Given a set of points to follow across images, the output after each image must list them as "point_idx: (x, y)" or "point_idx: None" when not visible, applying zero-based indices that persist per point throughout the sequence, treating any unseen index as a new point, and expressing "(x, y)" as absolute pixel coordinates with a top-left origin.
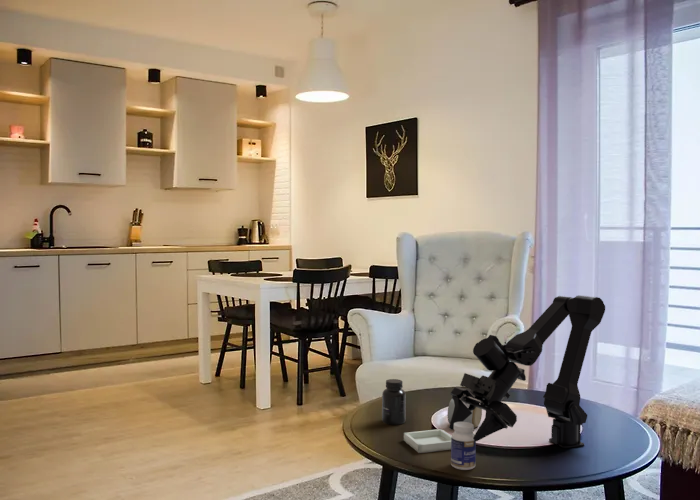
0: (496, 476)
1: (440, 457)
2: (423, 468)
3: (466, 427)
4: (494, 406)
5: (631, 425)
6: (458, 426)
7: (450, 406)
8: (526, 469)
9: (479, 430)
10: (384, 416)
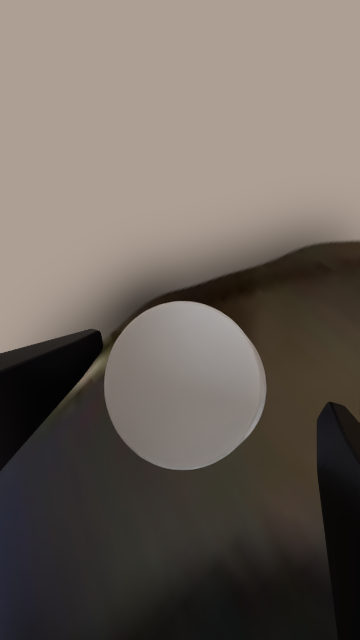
0: (102, 381)
1: (326, 394)
2: (282, 276)
3: (123, 330)
4: None
5: None
6: (172, 302)
7: None
8: (56, 503)
9: (40, 346)
10: None
